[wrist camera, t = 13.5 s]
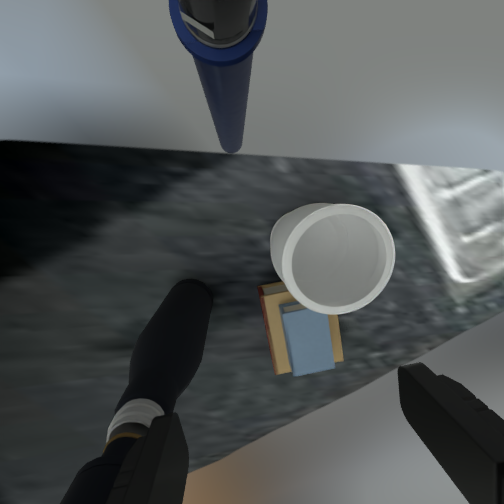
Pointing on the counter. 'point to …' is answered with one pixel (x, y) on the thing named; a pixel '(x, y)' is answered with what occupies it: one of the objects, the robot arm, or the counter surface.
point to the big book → (270, 303)
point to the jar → (332, 256)
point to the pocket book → (306, 339)
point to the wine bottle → (150, 384)
